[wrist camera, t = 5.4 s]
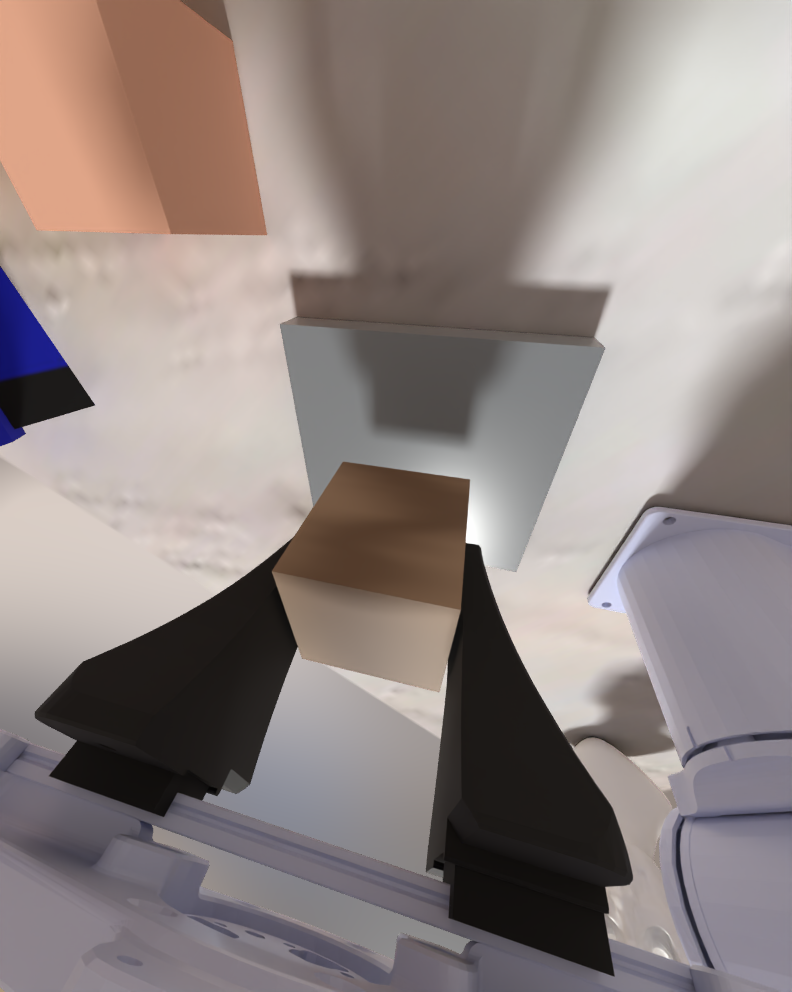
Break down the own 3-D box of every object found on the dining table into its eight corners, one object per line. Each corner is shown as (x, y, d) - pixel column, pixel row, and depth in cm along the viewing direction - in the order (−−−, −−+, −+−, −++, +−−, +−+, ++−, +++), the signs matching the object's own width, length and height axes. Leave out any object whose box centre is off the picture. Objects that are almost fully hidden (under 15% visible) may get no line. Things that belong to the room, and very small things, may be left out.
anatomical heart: (557, 757, 38) (587, 982, 26) (530, 714, 33) (553, 973, 21) (658, 767, 34) (746, 1041, 22) (646, 720, 28) (753, 1048, 17)
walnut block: (470, 479, 11) (460, 610, 7) (452, 565, 14) (439, 692, 10) (343, 461, 12) (271, 571, 8) (351, 547, 14) (302, 658, 11)
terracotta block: (233, 42, 10) (67, -86, 6) (267, 235, 13) (171, 233, 9) (107, 51, 10) (-113, -57, 7) (167, 232, 13) (36, 230, 9)
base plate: (594, 337, 12) (605, 347, 11) (514, 552, 20) (516, 572, 18) (296, 317, 14) (279, 324, 13) (328, 520, 22) (318, 536, 20)
